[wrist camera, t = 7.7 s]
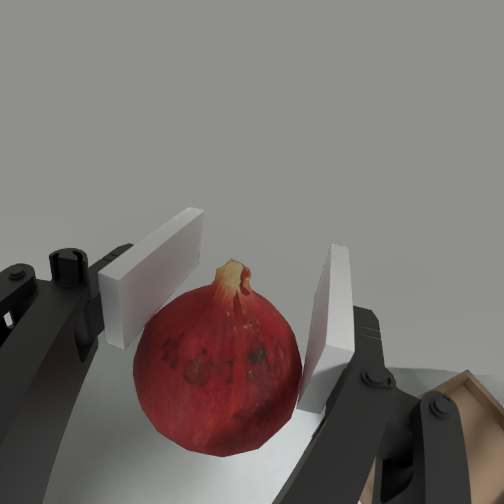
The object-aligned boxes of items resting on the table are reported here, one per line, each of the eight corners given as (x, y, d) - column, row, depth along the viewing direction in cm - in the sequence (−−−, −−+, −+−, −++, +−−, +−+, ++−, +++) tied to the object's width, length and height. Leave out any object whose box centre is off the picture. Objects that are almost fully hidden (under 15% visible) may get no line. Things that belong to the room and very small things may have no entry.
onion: (296, 461, 11) (382, 320, 8) (161, 497, 9) (145, 364, 5) (243, 369, 16) (278, 225, 12) (130, 385, 13) (121, 225, 10)
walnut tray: (501, 494, 14) (546, 459, 12) (411, 580, 9) (469, 560, 7) (435, 410, 25) (467, 369, 22) (335, 459, 20) (369, 418, 17)
